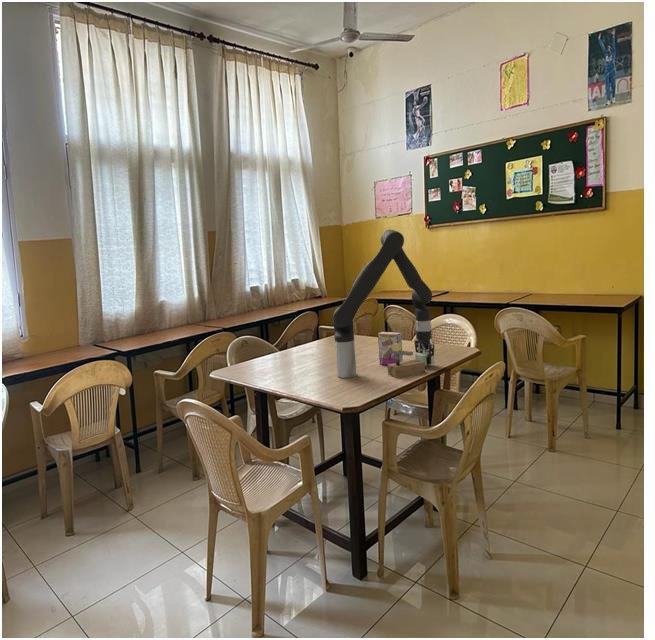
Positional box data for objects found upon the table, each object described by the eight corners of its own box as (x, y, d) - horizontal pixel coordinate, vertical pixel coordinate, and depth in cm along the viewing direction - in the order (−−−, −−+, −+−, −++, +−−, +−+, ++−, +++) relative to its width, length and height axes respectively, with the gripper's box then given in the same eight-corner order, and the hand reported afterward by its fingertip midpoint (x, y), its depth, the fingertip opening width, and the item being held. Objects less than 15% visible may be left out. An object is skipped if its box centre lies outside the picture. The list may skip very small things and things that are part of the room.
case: (388, 374, 239) (387, 364, 238) (416, 369, 245) (416, 359, 245) (395, 378, 233) (395, 367, 232) (425, 372, 239) (424, 361, 238)
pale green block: (415, 363, 250) (415, 353, 249) (427, 361, 253) (427, 351, 252) (422, 366, 245) (422, 356, 244) (434, 363, 247) (434, 353, 247)
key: (393, 363, 239) (392, 342, 238) (413, 365, 232) (412, 344, 230) (391, 364, 238) (389, 343, 236) (411, 366, 230) (410, 345, 229)
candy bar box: (379, 365, 259) (377, 333, 256) (383, 362, 263) (381, 331, 260) (399, 366, 252) (397, 334, 250) (403, 364, 256) (401, 332, 254)
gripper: (408, 328, 251) (410, 361, 254) (425, 332, 238) (427, 367, 241) (421, 326, 254) (423, 359, 257) (438, 330, 241) (440, 364, 244)
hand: (425, 362), depth 249 cm, fingers closed on pale green block, 6 cm apart
